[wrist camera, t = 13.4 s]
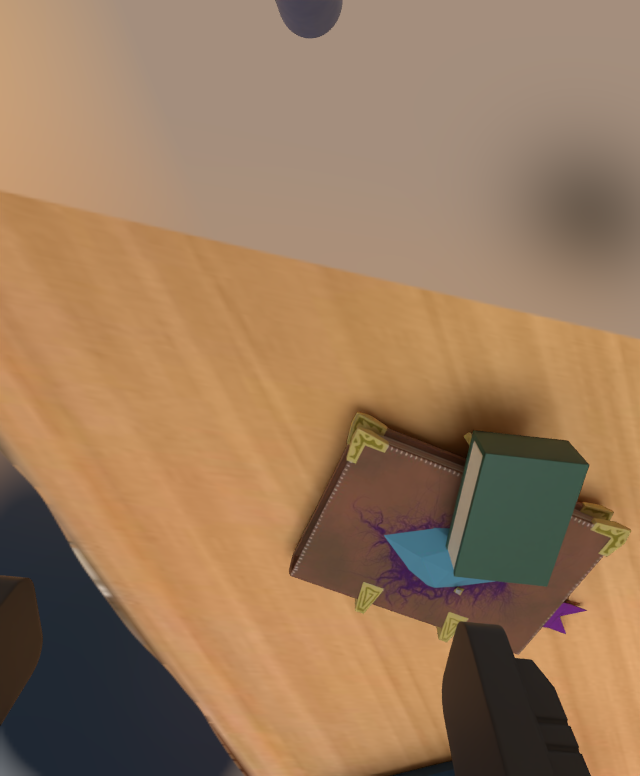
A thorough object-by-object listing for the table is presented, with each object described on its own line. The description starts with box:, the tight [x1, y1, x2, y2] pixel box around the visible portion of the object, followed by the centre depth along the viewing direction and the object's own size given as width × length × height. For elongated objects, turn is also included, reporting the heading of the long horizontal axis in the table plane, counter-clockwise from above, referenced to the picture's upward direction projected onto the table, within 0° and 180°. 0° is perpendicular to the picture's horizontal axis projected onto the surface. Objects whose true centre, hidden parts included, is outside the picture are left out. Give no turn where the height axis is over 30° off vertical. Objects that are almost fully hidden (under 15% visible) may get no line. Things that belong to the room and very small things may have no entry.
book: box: [289, 412, 631, 655], centre depth 38 cm, size 16×25×5 cm, turn 68°
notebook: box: [445, 430, 589, 587], centre depth 32 cm, size 9×6×3 cm, turn 174°
